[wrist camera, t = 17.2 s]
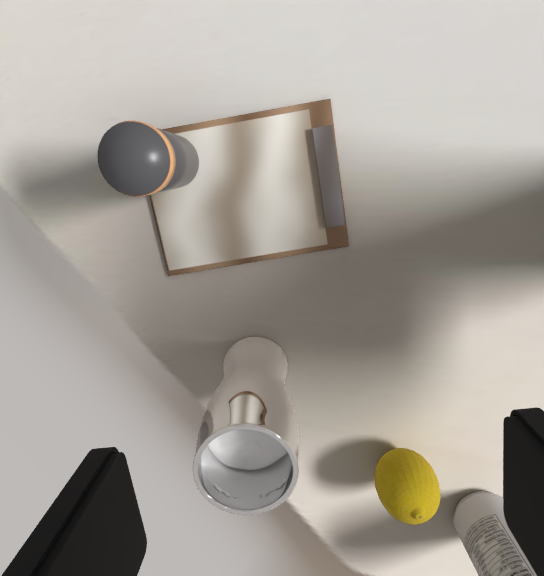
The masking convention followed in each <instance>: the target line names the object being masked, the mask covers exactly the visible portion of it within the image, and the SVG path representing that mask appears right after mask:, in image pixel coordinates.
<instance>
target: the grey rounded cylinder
mask: <svg viewBox="0 0 544 576" xmlns="http://www.w3.org/2000/svg"><path fill="white" fill-rule="evenodd" d="M98 163H99V167H100V170H101V172H102V175H103V176H104V178H105V179H106V181H107V182H108V183H109V184H110V185H111V186H112V187H113V188H115V189H116V190H117V191H119V192H121V193H123V194H125V195H129V196H134V197H140V196H147V195H151V194H154V193H157V192H161V191H166V190H171V189H175V188H180V187H183V186H186V185H187V184H189V183H190V182H191V181H192V180H193V179H194V178H195V176H196V174H197V172H198V168H199V158H198V154H197V151H196V149H195V148H194V146H193V145H192V144H191V143H190V142H189V141H188V140H187V139H185V138H184V137H181V136H179V135H176V134H173V133H170V132H167V131H164V130H161V129H158V128H155V127H153V126H151V125H149V124H146V123H142V122H139V121H125V122H121V123H118V124H116V125H115V126H113V127H111V128H110V129H109V130H108V131H107V132H106V133H105V134H104V136H103V137H102V139H101V141H100V144H99V148H98Z"/></svg>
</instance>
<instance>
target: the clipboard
mask: <svg viewBox="0 0 544 576" xmlns="http://www.w3.org/2000/svg"><path fill="white" fill-rule="evenodd" d="M163 130H164V131H167V132H170V133H173V134H176V135H179V136H181V137H184V138H185V139H187V140H188V141H189V142H190V143H191V144H192V145H193V146H194V148H195V149H196V151H197V154H198V158H199V168H198V172H197V174H196V176H195V178H194V179H193V180H192V181H191V182H190V183H189V184H187V185H186V186H183V187H180V188H175V189H171V190H166V191H161V192H157V193H154V194H151V195H149V196H150V200H151V204H152V208H153V212H154V216H155V221H156V225H157V229H158V233H159V237H160V242H161V246H162V250H163V254H164V258H165V262H166V267H167V271H168V275H169V276H172V275H178V274H184V273H190V272H196V271H202V270H208V269H214V268H220V267H226V266H232V265H238V264H244V263H250V262H256V261H262V260H268V259H274V258H280V257H286V256H292V255H298V254H304V253H310V252H317V251H323V250H329V249H335V248H341V247H347V246H349V244H348V236H347V228H346V220H345V212H344V204H343V196H342V188H341V180H340V172H339V164H338V156H337V148H336V140H335V132H334V124H333V116H332V108H331V100H330V99H327V100H321V101H316V102H310V103H305V104H299V105H294V106H288V107H283V108H277V109H272V110H267V111H261V112H256V113H250V114H245V115H239V116H234V117H228V118H223V119H217V120H212V121H207V122H201V123H196V124H190V125H185V126H179V127H174V128H168V129H163Z"/></svg>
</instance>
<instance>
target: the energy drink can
mask: <svg viewBox="0 0 544 576" xmlns="http://www.w3.org/2000/svg"><path fill="white" fill-rule="evenodd" d="M454 527H455V529H456V531H457V533H458V535H459V537H460V539H461V541H462V543H463V545H464V547H465V549H466V551H467V553H468V555H469V557H470V559H471V561H472V563H473V565H474V567H475V569H476V571H477V573H478V575H479V576H537V575H536V573H535V572H534V570H533V568H532V566H531V565H530V563H529V561H528V560H527V558H526V556H525V555H524V553H523V551H522V550H521V548H520V546H519V545H518V543H517V541H516V540H515V538H514V536H513V534H512V533H511V531H510V529H509V528H508V526H507V523H506V520H505V517H504V512H503V497H501V496H499V495H496V494H493V493H491V492H487V491H477V492H473V493H470V494H468V495H466V496H465V497H463V498H462V499H461V500H460V502H459V503H458V505H457V506H456V510H455V514H454Z"/></svg>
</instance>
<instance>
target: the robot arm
mask: <svg viewBox="0 0 544 576" xmlns="http://www.w3.org/2000/svg"><path fill="white" fill-rule="evenodd" d="M503 512H504V517H505V520H506V523H507V526H508V528H509V529H510V531H511V533H512V534H513V536H514V538H515V540H516V541H517V543H518V545H519V546H520V548H521V550H522V551H523V553H524V555H525V556H526V558H527V560H528V561H529V563H530V565H531V566H532V568H533V570H534V572H535V573H536V575H537V576H544V411H543V410H542V409H540V408H528V409H517V410H513V411H512V412H511V415H510V417H505V419H504V449H503ZM146 547H147V539H146V534H145V530H144V526H143V522H142V518H141V515H140V511H139V508H138V503H137V500H136V496H135V492H134V488H133V484H132V480H131V476H130V472H129V469H128V465H127V461H126V457H125V455H124V453H122V452H118V450H117V449H116V448H115V447H110V448H98V449H92V450H91V451H90V452H89V453H88V454H87V456H86V457H85V459H84V460H83V461H82V463H81V464H80V466H79V467H78V468H77V470H76V471H75V473H74V474H73V475H72V477H71V478H70V480H69V481H68V483H67V484H66V485H65V487H64V488H63V490H62V491H61V492H60V494H59V496H58V497H57V498H56V499H55V501H54V502H53V504H52V505H51V507H50V508H49V510H48V511H47V512H46V514H45V515H44V517H43V518H42V519H41V521H40V522H39V524H38V525H37V526H36V528H35V529H34V531H33V532H32V533H31V535H30V536H29V538H28V539H27V541H26V542H25V544H24V545H23V546H22V548H21V549H20V550H19V552H18V553H17V555H16V556H15V558H14V559H13V560H12V562H11V563H10V565H9V566H8V567H7V569H6V570H5V572H4V573H3V574H2V576H137V574H138V572H139V569H140V566H141V563H142V561H143V558H144V556H145V552H146Z"/></svg>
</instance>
